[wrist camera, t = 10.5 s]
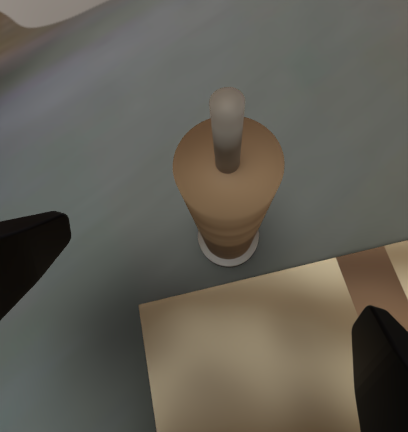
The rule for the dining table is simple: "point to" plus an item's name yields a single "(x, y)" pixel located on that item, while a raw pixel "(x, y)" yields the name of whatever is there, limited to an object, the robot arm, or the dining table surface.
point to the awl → (228, 178)
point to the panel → (269, 346)
